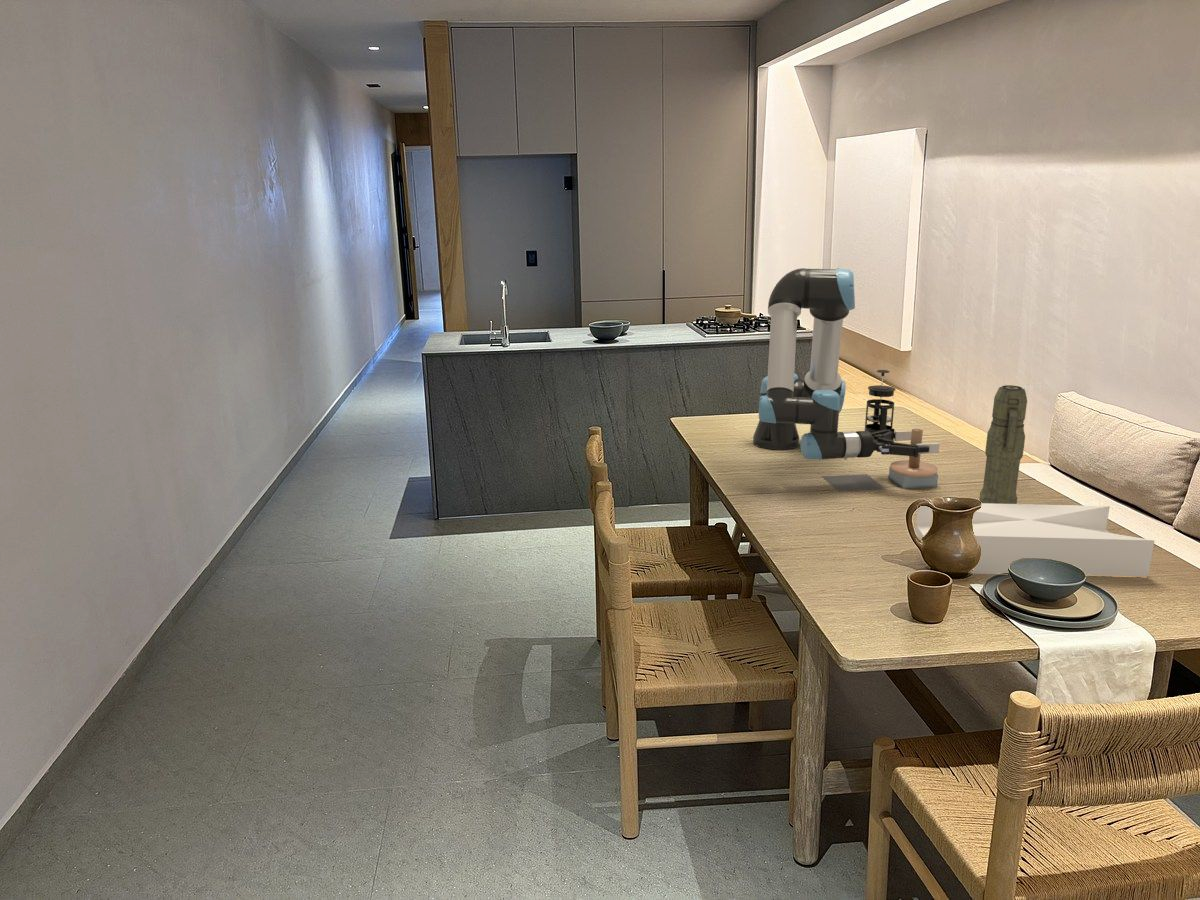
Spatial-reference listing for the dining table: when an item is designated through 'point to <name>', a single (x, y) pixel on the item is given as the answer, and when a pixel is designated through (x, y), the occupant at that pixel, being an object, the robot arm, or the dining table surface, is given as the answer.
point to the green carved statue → (1004, 446)
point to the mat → (853, 483)
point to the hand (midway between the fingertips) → (927, 441)
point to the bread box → (1051, 538)
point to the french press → (879, 407)
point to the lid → (914, 461)
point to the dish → (913, 480)
